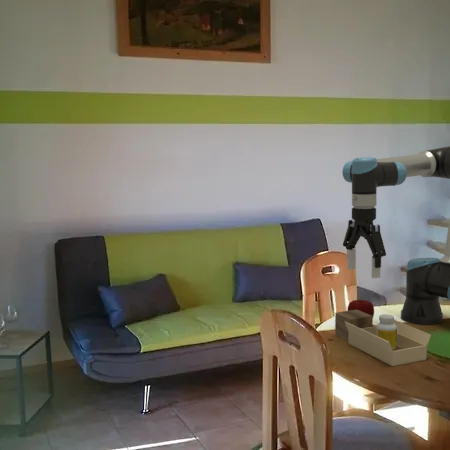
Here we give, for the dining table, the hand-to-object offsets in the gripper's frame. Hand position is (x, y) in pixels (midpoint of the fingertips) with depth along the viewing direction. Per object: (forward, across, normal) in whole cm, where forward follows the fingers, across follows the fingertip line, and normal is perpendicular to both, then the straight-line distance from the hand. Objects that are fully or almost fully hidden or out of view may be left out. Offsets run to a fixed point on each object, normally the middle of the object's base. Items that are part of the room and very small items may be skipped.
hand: (363, 273), depth 203 cm
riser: (+25, -12, +5) cm, 29 cm away
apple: (+26, -21, +13) cm, 36 cm away
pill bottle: (+26, +4, +6) cm, 27 cm away
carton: (+25, +4, +6) cm, 26 cm away
